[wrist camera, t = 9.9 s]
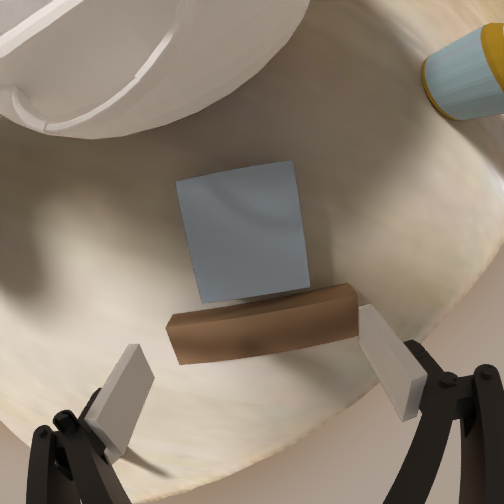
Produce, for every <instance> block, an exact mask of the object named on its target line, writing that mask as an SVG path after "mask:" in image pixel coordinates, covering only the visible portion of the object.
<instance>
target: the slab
mask: <svg viewBox="0 0 504 504" xmlns="http://www.w3.org/2000/svg"><path fill="white" fill-rule="evenodd" d="M175 184H176V189H177V194H178V200H179V205H180V210H181V215H182V219H183V224H184V229H185V234H186V238H187V243H188V247H189V252H190V256H191V260H192V265H193V269H194V273H195V277H196V281H197V286H198V290H199V294H200V298H201V301H202V304H203V303H211V302H218V301H225V300H232V299H239V298H246V297H253V296H259V295H266V294H272V293H278V292H284V291H290V290H296V289H302V288H308V287H310V280H309V271H308V262H307V254H306V246H305V238H304V231H303V224H302V216H301V210H300V203H299V196H298V190H297V183H296V177H295V171H294V165H293V160H288V161H281V162H274V163H268V164H262V165H255V166H249V167H244V168H238V169H233V170H227V171H222V172H217V173H212V174H207V175H202V176H197V177H193V178H188V179H184V180H179V181H175Z"/></svg>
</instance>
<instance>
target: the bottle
mask: <svg viewBox="0 0 504 504" xmlns="http://www.w3.org/2000/svg"><path fill="white" fill-rule="evenodd" d="M421 77H422V82H423V86H424V89H425V91H426V93H427V95H428V98H429V99H430V101H431V102H432V103H433V105H434V106H435V107H436V108H437V109H438V110H439V111H440V112H441V113H442V114H443V115H444V116H446V117H448V118H450V119H452V120H458V121H461V120H468V119H474V118H479V117H485V116H492V115H498V114H504V23H489V24H487V25H485V26H483V27H481V28H479V29H477V30H475V31H473V32H471V33H469V34H467V35H466V36H464V37H462V38H460V39H458V40H457V41H455V42H453V43H451V44H449V45H448V46H446V47H444V48H442V49H441V50H439V51H437V52H436V53H434V54H432V55H431V56H430V57H428V58H427V59H426V60H425V61H424V63H423V65H422V69H421Z"/></svg>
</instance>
